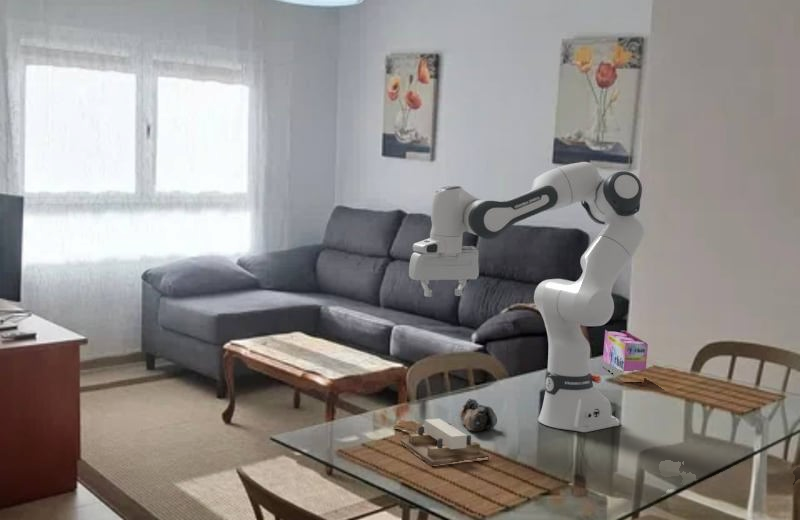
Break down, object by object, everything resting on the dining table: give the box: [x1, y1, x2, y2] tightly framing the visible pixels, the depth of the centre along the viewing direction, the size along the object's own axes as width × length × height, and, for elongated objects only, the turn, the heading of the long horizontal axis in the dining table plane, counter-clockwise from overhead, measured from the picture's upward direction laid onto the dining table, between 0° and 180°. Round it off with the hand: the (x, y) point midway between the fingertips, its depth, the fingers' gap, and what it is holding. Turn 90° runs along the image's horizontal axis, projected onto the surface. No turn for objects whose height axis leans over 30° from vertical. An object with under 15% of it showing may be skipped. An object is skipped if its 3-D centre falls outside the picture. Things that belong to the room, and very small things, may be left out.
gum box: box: [602, 329, 649, 371], centre depth 301 cm, size 24×8×14 cm, turn 4°
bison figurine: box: [459, 398, 498, 432], centre depth 231 cm, size 12×7×10 cm
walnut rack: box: [399, 422, 489, 467], centre depth 210 cm, size 15×17×5 cm
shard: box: [392, 419, 424, 433], centre depth 226 cm, size 11×8×2 cm
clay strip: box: [423, 418, 468, 449], centre depth 210 cm, size 4×14×3 cm, turn 25°
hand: (443, 295), depth 240 cm, fingers open, 8 cm apart
